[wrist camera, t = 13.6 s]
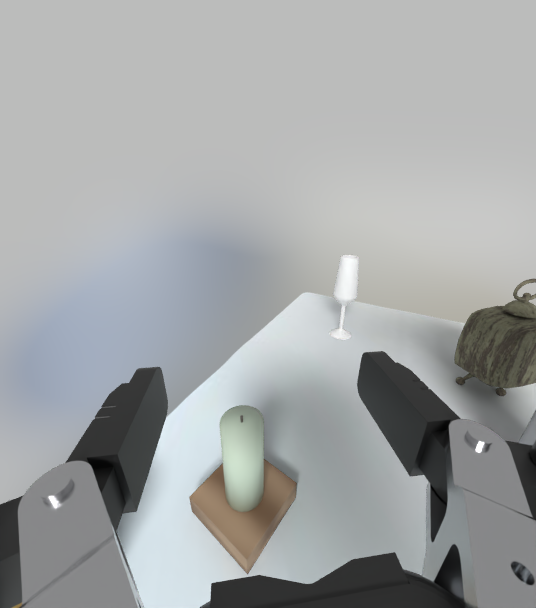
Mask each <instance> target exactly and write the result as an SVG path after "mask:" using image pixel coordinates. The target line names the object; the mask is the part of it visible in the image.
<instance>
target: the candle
mask: <svg viewBox="0 0 536 608" xmlns="http://www.w3.org/2000/svg"><path fill="white" fill-rule="evenodd" d="M220 435H221V447H222V458H223V470H224V482H225V494H226V500H227V502H228V504H229V505H230V507H231V508H233V509H234V510H236V511H239V512H247V511H250V510H252V509H254V508H255V507H257V506H258V504H259V503H260V502H261V500H262V497H263V493H264V419H263V416H262V414H261V413H260V411H259V410H257V409H256V408H254V407H251V406H246V405H241V406H236V407H233V408H231V409H229V410H228V411H226V412H225V413H224V414H223V416H222V417H221V420H220Z"/></svg>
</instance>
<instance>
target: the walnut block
mask: <svg viewBox="0 0 536 608" xmlns="http://www.w3.org/2000/svg"><path fill="white" fill-rule="evenodd" d="M296 486H297V483H296V482H294V481H293V480H292V479H290V478H289V477H288V476H286V475H285V474H284V473H282V472H281V471H280V470H278V469H277V468H276V467H274V466H273V465H272V464H270V463H269V462H268V461H266V460H265V459H264V493H263V497H262V500H261V502H260V503H259V504H258V506H257V507H255V508H254V509H252V510H250V511H247V512H239V511H236V510H234V509H233V508H231V507H230V505H229V504H228V502H227V500H226V494H225V482H224V470H223V463H222V464H221V465H220V466H219V467H218V469H217V470H216V471H215V472H214V473H213V474H212V475H211V476H210V477H209V478H208V479H207V480H206V481H205V482H204V483H203V484H202V485H201V486H200V487H199V488H198V489H197V490H196V491H195V492H194V493H193V494H192V495H191V496H190V497H189V498H190V503H191V508H192V512H193V513H194V514H195V515H196V516H197V517H198V519H199V520H200V521H201V522H202V523H203V524H204V525H205V527H206V528H207V529H208V530H209V531H210V532H211V533H212V534H213V536H214V537H215V538H216V539H217V540H218V541H219V542H220V543H221V545H222V546H223V547H224V548H225V549H226V550H227V551H228V553H229V554H230V555H231V556H232V557H233V558H234V559H235V560H236V562H237V563H238V564H239V565H240V566H241V567H242V568H243V569H244V571H245V572H246V573H247V574H248V573H249V571H250V570H251V568H252V567H253V565H254V563H255V562H256V560H257V559H258V557H259V555H260V554H261V552H262V551H263V549H264V547H265V546H266V544H267V542H268V541H269V539H270V538H271V536H272V534H273V533H274V531H275V530H276V528H277V526H278V525H279V523H280V522H281V520H282V518H283V517H284V515H285V514H286V512H287V510H288V509H289V507H290V506H291V504H292V502H293V501H294V499H295V498H296Z"/></svg>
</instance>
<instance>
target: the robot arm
mask: <svg viewBox="0 0 536 608" xmlns="http://www.w3.org/2000/svg"><path fill="white" fill-rule="evenodd" d="M357 387H358V393H359V396H360V398H361V400H362V401H363V403H364V404H365V406H366V407H367V409H368V411H369V412H370V414H371V415H372V417H373V419H374V420H375V422H376V423H377V425H378V426H379V428H380V430H381V431H382V433H383V434H384V436H385V437H386V439H387V441H388V442H389V444H390V445H391V447H392V449H393V450H394V452H395V453H396V455H397V456H398V458H399V460H400V461H401V463H402V464H403V466H404V467H405V469H406V471H407V472H408V474H409V475H410V476H418V475H425V477H426V478H427V479H428V484H427V489H426V554H425V560H424V565H423V571H422V576H421V575H419V574H416V573H413V572H410V571H407V570H403V569H402V567H401V565H400V562H399V560H398V558H397V556H396V554H395V552H394V553H388V554H382V555H377V556H371V557H365V558H359V559H353V560H351V561H349V562H348V563H346V564H344V565H343V566H341V567H340V568H338V569H336V570H335V571H333V572H331V573H330V574H328V575H326V576H325V577H323V578H321V579H320V580H318V581H316V582H315V583H312V584H303V583H297V582H292V581H287V580H282V579H277V578H272V577H266V576H261V575H257V576H252V577H246V578H240V579H234V580H228V581H222V582H216V583H212V584H211V601H209V602H208V603H206V604H204V605H203V606H201V607H200V608H536V410H535V412H534V414H533V416H532V418H531V420H530V422H529V424H528V425H527V427H526V429H525V431H524V433H523V435H522V437H521V439H520V441H519V442H518V443H516V442H510V441H504V440H503V439H502V438H501V437H500V436H499V435H498V434H497V433H495V432H494V431H493V430H491V429H490V428H488V427H486V426H484V425H482V424H480V423H477V422H474V421H471V420H466V419H460V418H459V417H458V416H457V415H456V414H455V413H454V412H453V411H452V410H451V409H450V408H449V407H448V406H447V405H446V404H445V403H444V402H443V401H442V400H441V399H440V398H439V397H438V396H437V395H436V394H435V393H434V392H433V391H432V390H431V389H428V387H427V386H426V385H425V384H424V383H423V382H422V381H420V379H419V378H418V377H417V376H416V375H415V374H414V373H413V372H412V371H411V370H410V369H408V368H406V367H404V366H403V365H401V364H399V363H395V362H394V361H393V360H392V359H391V358H390V357H389V356H388V355H387V354H386V353H385V352H383V351H379V352H365V353H363V355H362V358H361V364H360V370H359V376H358V383H357ZM167 409H168V400H167V394H166V389H165V384H164V379H163V374H162V370H161V368H160V367H152V368H139V369H137V370H136V372H135V374H134V375H133V377H132V379H131V381H130V382H129V383H125V384H121V385H120V386H119V387H117V388H116V389H115V390H114V391H113V392H112V393H110V394H109V396H108V397H107V399H106V400H105V402H104V403H103V405H102V408H101V409H100V410H99V411H98V413H97V415H96V416H95V419H94V420H93V421H92V422H91V424H90V426H89V427H88V429H87V430H86V432H85V433H84V435H83V437H82V438H81V439H80V441H79V443H78V444H77V446H76V447H75V449H74V450H73V452H72V454H71V455H70V457H69V458H68V460H67V461H66V463H65V464H62V465H59V466H57V467H55V468H53V469H52V470H50V471H48V472H47V473H45V474H44V475H43V476H41V477H40V478H39V479H38V480H36V481H35V482H34V483H33V484H32V485H31V486H30V488H29V489H28V490H27V491H26V493H25V494H24V495H23V496H21V497H19V498H16V499H13V500H11V501H8V502H6V503H3V504H1V505H0V608H12V607H14V606H16V605H18V604H20V603H22V605H21V607H19V608H144V606H143V603H142V601H141V598H140V595H139V592H138V589H137V587H136V584H135V581H134V578H133V575H132V572H131V569H130V567H129V564H128V561H127V558H126V555H125V552H124V549H123V547H122V544H121V541H120V538H119V535H118V532H117V527H118V525H119V522H120V519H121V516H122V513H129V512H136V511H137V508H138V505H139V502H140V499H141V495H142V492H143V489H144V486H145V483H146V479H147V476H148V473H149V470H150V467H151V463H152V460H153V457H154V454H155V451H156V448H157V444H158V441H159V438H160V435H161V432H162V428H163V425H164V422H165V419H166V415H167Z"/></svg>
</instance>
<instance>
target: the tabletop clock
mask: <svg viewBox="0 0 536 608" xmlns="http://www.w3.org/2000/svg"><path fill="white" fill-rule="evenodd" d="M533 282H536V279H529V280H526V281H524V282H522V283H520V284H519V285H518V286H517V287H516V289H515V290H514V293H513V296H514V298H515V299H517V300H515V301H512V302H510V303H508V304H506V305H505V306H495V307H491V308H485V309H481V310H478V311H476V312H474V313H472V314H471V315H470V317H469V318H468V320H467V322H466V324H465V326H464V328H463V330H462V333H461V335H460V338H459V341H458V344H457V348H456V352H455V364H457V365H458V366H460V367H461V368H463V369H464V370H466V371H467V372H469V374H468V375H466V376H465V377H464V378H462V377H458V378H457V379H456V382H457V383H458V384H460V385H462V384H464V383H465V380H466V379H469V378H471V377H474V376H475V377H476V378H478V379H479V380H481V381H482V382H484V383H485V384H487V385H490V386H494V387H500V388H497V389H496V393H497V394H498V395H500V396H504V395H506V391H505V390H504V389H503V388H513V387H520V386H525V385H529V384H533V383H536V306H535V305H534V304H532V303H530V302H528V301H529V300H532V299H534V298H536V294H535V295H532V296H531V294H529V293H524V294H523V297H518V296H517V291H518V290H519V289H520V288H521V287H522V286H524V285H525V284H527V283H533Z"/></svg>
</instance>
